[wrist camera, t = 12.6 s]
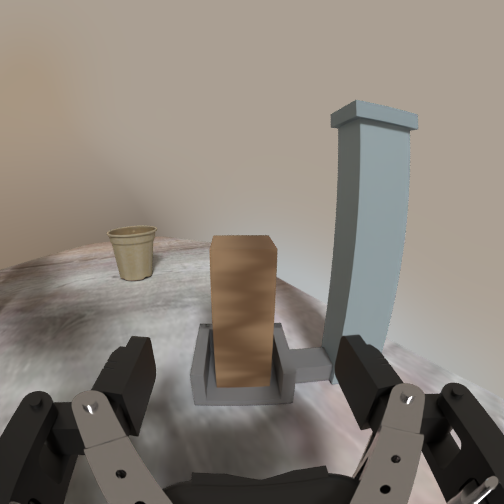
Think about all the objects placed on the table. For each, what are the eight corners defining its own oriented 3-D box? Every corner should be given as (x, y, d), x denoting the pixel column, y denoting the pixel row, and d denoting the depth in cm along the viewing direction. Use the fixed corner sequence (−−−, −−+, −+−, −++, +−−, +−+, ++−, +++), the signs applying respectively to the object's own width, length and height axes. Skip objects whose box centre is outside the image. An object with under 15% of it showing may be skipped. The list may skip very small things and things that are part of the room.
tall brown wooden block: (216, 387, 22) (209, 249, 18) (218, 357, 26) (213, 235, 23) (269, 386, 22) (277, 249, 19) (264, 356, 26) (268, 235, 23)
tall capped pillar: (194, 404, 20) (179, 83, 14) (202, 351, 28) (195, 112, 22) (386, 387, 21) (427, 111, 15) (356, 343, 29) (377, 125, 23)
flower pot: (107, 273, 50) (102, 229, 47) (149, 264, 56) (146, 223, 53) (119, 288, 43) (113, 237, 40) (168, 277, 49) (165, 230, 46)
